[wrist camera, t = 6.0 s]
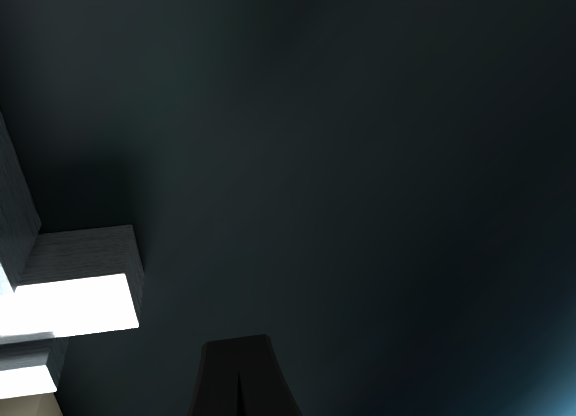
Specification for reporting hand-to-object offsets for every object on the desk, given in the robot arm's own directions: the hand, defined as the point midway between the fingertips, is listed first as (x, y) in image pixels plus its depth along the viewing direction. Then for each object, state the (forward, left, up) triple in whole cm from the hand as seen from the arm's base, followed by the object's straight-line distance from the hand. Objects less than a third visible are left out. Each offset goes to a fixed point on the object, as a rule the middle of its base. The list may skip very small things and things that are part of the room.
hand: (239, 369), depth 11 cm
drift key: (+6, 0, -4) cm, 7 cm away
